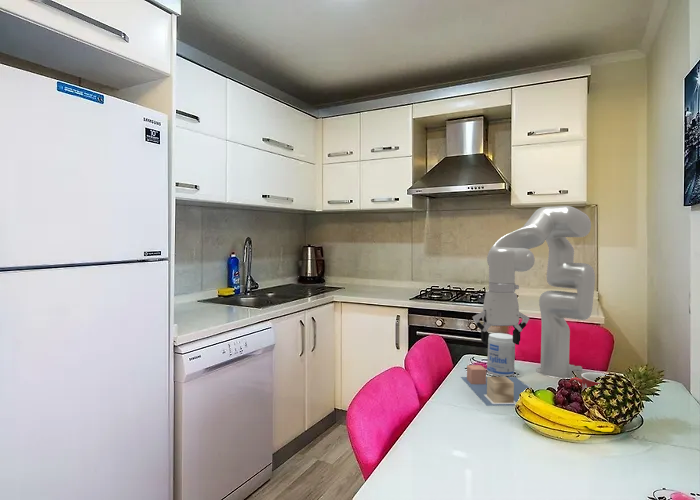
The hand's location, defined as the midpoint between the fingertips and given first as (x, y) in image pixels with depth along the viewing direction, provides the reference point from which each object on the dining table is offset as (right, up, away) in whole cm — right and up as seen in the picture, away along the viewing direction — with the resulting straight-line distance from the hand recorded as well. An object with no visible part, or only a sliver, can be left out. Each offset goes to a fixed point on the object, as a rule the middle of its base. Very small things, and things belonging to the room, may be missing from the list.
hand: (500, 343), depth 130 cm
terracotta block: (-3, -17, +16) cm, 23 cm away
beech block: (0, -17, 0) cm, 17 cm away
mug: (+19, -19, -15) cm, 31 cm away
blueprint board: (+4, -18, +8) cm, 20 cm away
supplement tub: (+10, -18, +27) cm, 34 cm away
